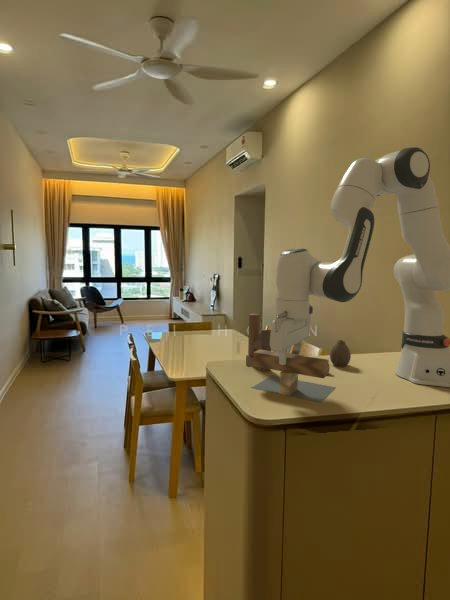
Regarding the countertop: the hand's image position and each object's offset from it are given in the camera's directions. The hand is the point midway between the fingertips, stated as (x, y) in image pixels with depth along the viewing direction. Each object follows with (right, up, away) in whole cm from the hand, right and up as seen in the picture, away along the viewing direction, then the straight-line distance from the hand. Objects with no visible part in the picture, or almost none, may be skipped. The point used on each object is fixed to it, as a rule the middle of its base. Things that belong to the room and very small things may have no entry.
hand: (289, 360), depth 107 cm
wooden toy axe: (-7, -7, +25) cm, 27 cm away
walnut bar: (0, -3, 0) cm, 3 cm away
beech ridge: (0, -9, +1) cm, 9 cm away
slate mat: (+2, -9, +4) cm, 10 cm away
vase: (+23, -7, +31) cm, 39 cm away
